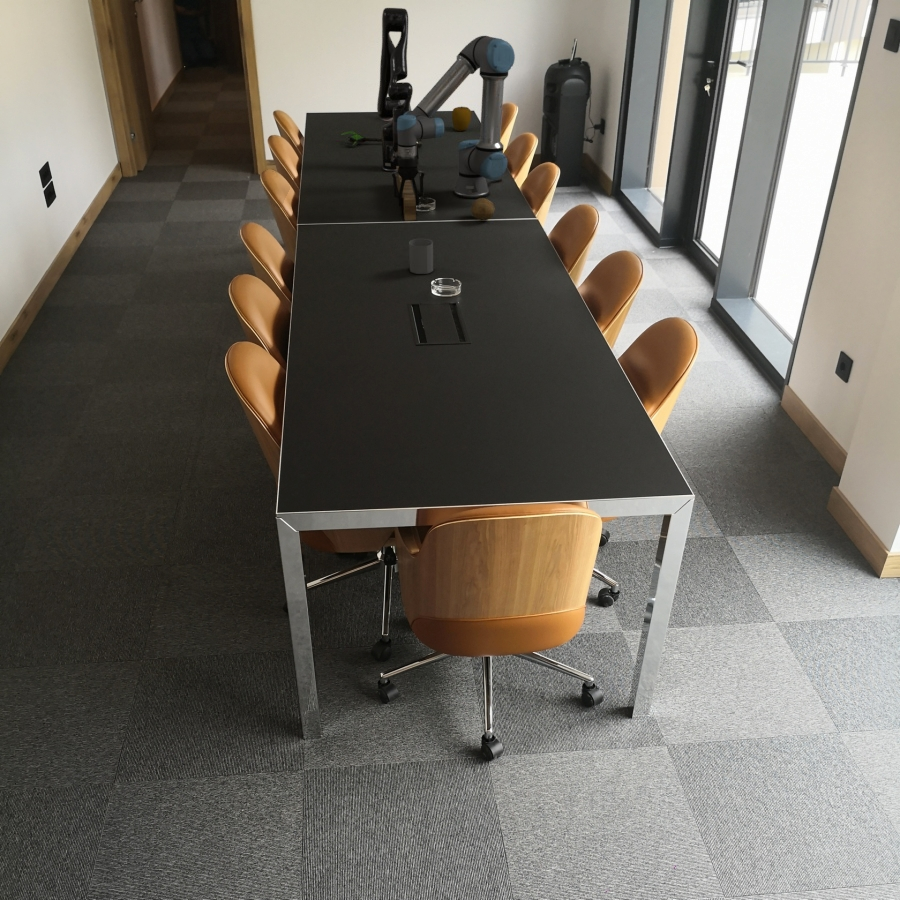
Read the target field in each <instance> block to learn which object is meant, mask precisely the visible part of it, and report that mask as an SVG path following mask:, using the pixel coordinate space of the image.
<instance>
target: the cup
mask: <svg viewBox="0 0 900 900" xmlns="http://www.w3.org/2000/svg"><path fill="white" fill-rule="evenodd" d="M408 253H409V272H411V273H412V274H416V275H426V274H430V273H432V272H434V241H433V240H431V239H428V238H422V237H421V238H420V237H419V238H414V239H411V240H410V241H409V242H408Z"/></svg>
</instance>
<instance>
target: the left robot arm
mask: <svg viewBox="0 0 900 900" xmlns="http://www.w3.org/2000/svg"><path fill="white" fill-rule="evenodd" d="M390 33H400V36H399V37H400V38H399V40H398V43H397V44H396V46H395V45H394V42H393V41H392V38H391V35H390ZM408 39H409V13H408V10H407V9H406V8H401V7H385V8H384V9H383V10H382V16H381V51H380V65H379V66H380V67H379V86H378V87H379V88H378V93H377V104H376V111H377V115H378V117H379V118H380V119H391V118H393V119H392V120H391V121H388V122H387V123H386V124H382V126H381V139H382V142H381V151H382V152H381V153H382V170H383V171H385V172H391V173H392V172H396V166H399V163H398V158H399V156H398V132H397V121H398V117H399V116H402V115H404V113H405V112H407V111H409V107H410V106H411V101H412V97H413V94H414V93H413V92H414V88H413V85H412V84H411V83H410V82H407V81H405V82H404V81H403V80H406V79H407V78H408V42H409V40H408ZM400 81H401V82H400ZM402 81H403V82H402ZM400 100H405V101H404V103H403V104H402V105H401V101H400ZM419 156H420V155H419V147H418V145H417V155H416V157H417V160H419V158H420V157H419Z"/></svg>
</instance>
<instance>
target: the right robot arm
mask: <svg viewBox="0 0 900 900" xmlns="http://www.w3.org/2000/svg"><path fill="white" fill-rule="evenodd" d="M515 54H516V53H515V51H514V48H513V46H512V44H511V43H509V42H508V41H507V40H505V39H502V38H498V37H493V36H488V35H480V36H477V37H475V38H473V39H472V40H471V41H470V42H468V43H467V44H466V45H465V46H464V47H463V48H462V49H461V51H459V53H458V54H457V55H456V59H455V61H454V62H453V64H452V65H451V66H450V67H449V68H448V69H447V70H446V72H445V73H444V74H443V75H442V76H441V77H440V79H438V81H437V82H436V83H435V84H434V85H433V87H431V89H430V90H429V91H428V92H427V93H426V94H425V96H423V98H422V99H421V100H420V102H419V103H418V104H417V105H416V106H415V107H414V108H413V109H412V110H411V111H407V112H405V113H404V115H402V116H399V117H398V121H397V132H398V156H399V158H398V163H399V168H398V171H394V172H391V177H392V180H393V181H392V183H393V185H392V186H393V197H394V198H395V199H398V207H401V209H400V210H401V216H404V206H403V197H402V193H403V188H404V184H405V181H406V180H411V184H412V188H413V192H414V195H415V199H416V216H417V215H418V212H417V211H418V209H417V208H418V207H419V206H420V198H423V197H424V178H425V171H424V170H419V168H418V159H417V157H416V155H417V146H418V141H421V140H429V139H436V138H441V137H443V136H444V133H445V123H444V121H443V119H442V118H441V117H435V116H434V115H435V114H436V113H437V112H438V111H439V110H440V109H441V107H442V106H443V105H444V104H445V103H446V102H447V101H448V99H449V98H450V97H451V96H452V95H453V94H454V93H455V92H456V90H457V89H458V88H460V86H461V85H462V83H464V81H465V80H466V79H467V78H468V77H469V76H470V75H473V74H475V73H476V72H477V71H478V70H479V76H480V77H481V78H482V89H481V92H482V93H481V109H480V111H481V112H480V127H479V128H480V129H479V130H480V131H479V139H467V140H463V141H460V142H459V145H458V177H457V181H456V184H455V187H454V195H455V196H456V197H457V198H462V199H470V200H471V199H472V200H474V199H475V200H476V199H479V198H485V197H487V196H489V194H490V189H489V187H488V186H490V185H491V184H493V183H497V182H498V183H499V182H503V179H502V178H501V177H502V176H503V175H504V174H505V172H506V171H507V168H508V157H507V156H506V154H504V144H503V143H502V141H501V135H502V134H501V133H502V121H503V104H504V88H505V87H504V86H505V80H506V79H507V78H508V77H509V72H510V70H511V69H512V67H513V66H514V64H515V60H516V55H515ZM433 116H434V117H433ZM398 174H399V175H400V176H401V178H402V179H401V185H400V190H399V192H398V188H397V175H398ZM417 175H418V177H419V191H418V187H417V183H416V180H415V179H416V177H417ZM499 178H500V179H499ZM487 180H491V181H488V182H487Z"/></svg>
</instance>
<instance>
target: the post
mask: <svg viewBox="0 0 900 900" xmlns="http://www.w3.org/2000/svg"><path fill="white" fill-rule="evenodd" d="M398 168H399V166H396V171H398ZM396 171H395V172H396ZM401 179H402V178H401V176H400V175H399V174H398V175H397V178H396V180H397V193H399V190H400V185H401ZM402 197H403V206H404V215H403V218H404V221H405V222H408V221H409V222H410V221H411V222H412V221H417V215H416V199H415V197H416V195H415V191H414V187H413V183H412V180H406V181H405V184H404V188H403V193H402Z"/></svg>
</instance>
